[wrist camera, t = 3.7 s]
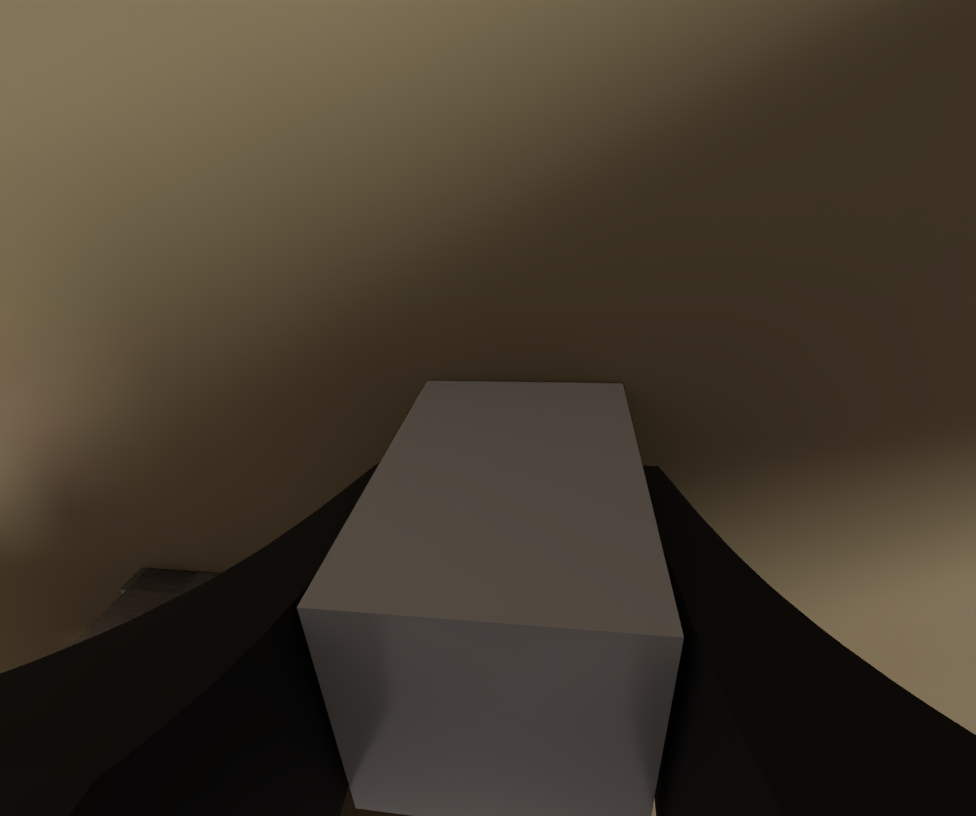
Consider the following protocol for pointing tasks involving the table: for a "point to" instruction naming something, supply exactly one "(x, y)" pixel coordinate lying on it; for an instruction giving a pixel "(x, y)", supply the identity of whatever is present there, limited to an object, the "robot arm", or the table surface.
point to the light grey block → (500, 611)
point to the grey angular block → (145, 596)
